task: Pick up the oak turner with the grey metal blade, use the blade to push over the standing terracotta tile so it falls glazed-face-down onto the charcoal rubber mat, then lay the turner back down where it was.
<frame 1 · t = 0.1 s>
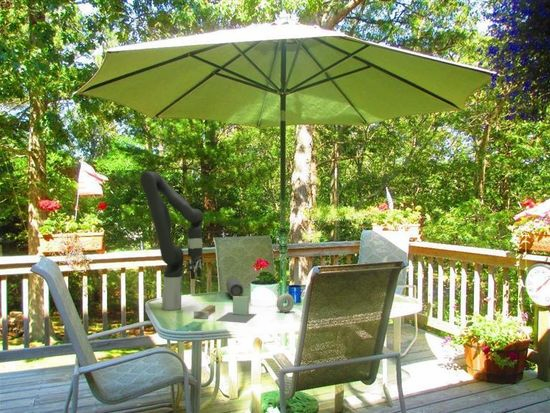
hand: (196, 277, 246), 17 cm above the table, tool pointing down, fingers open, 8 cm apart
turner: (207, 316, 234), on the table
mat: (236, 318, 229), on the table
donut: (285, 313, 243), on the table
bluetooth speaker: (234, 296, 285), on the table
tile: (240, 314, 235), point 1 cm above the table, touching mat
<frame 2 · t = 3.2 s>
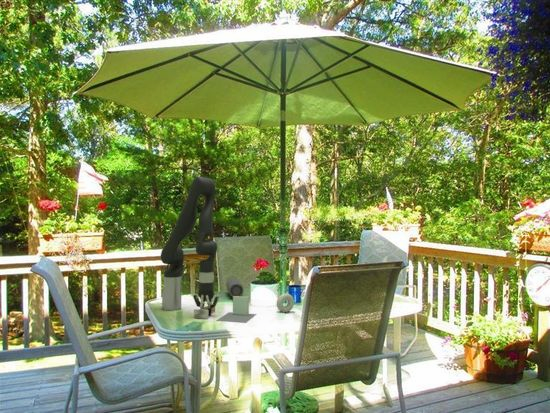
hand: (206, 315, 233), 1 cm above the table, tool pointing down, fingers closed on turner, 2 cm apart
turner: (207, 315, 234), on the table, touching gripper
everything else where it was.
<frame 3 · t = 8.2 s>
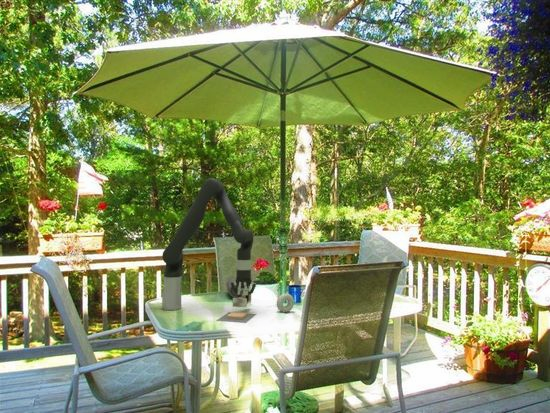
hand: (243, 301, 239), 6 cm above the table, tool pointing down, fingers closed on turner, 3 cm apart
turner: (244, 303, 241), point 5 cm above the table, touching gripper
tile: (240, 313, 234), point 1 cm above the table, tilted 90°, touching mat
everything else where it was.
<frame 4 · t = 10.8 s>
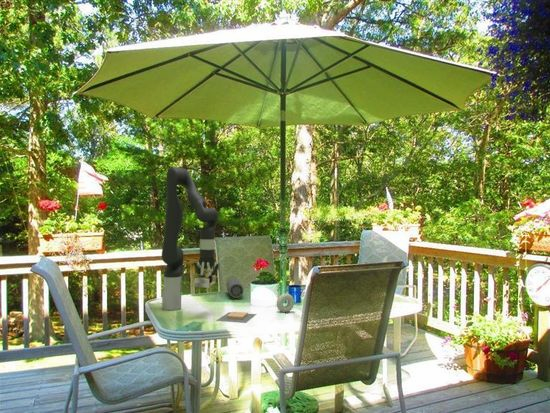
hand: (206, 282, 233), 17 cm above the table, tool pointing down, fingers closed on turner, 3 cm apart
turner: (207, 284, 234), point 16 cm above the table, touching gripper
everything else where it was.
when the fingers open (2 cm above the table, at t = 12.9 s): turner stays where it is, on the table.
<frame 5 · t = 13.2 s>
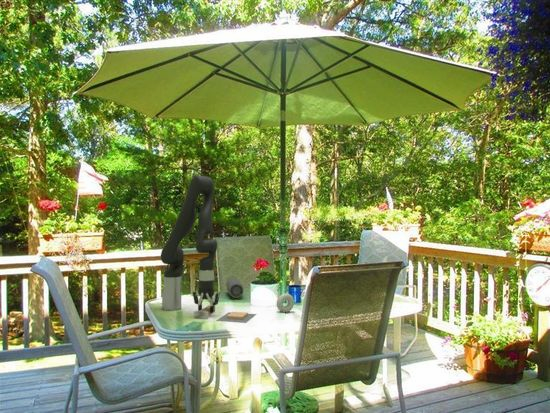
hand: (206, 312, 233), 2 cm above the table, tool pointing down, fingers open, 5 cm apart
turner: (207, 316, 234), on the table
everything else where it was.
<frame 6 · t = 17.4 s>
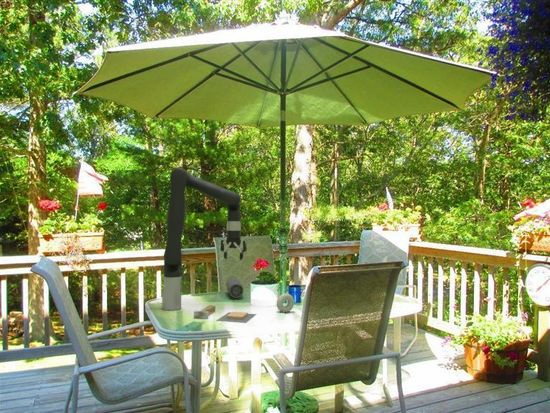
hand: (233, 259, 254), 26 cm above the table, tool pointing down, fingers open, 8 cm apart
nothing on the table moved.
at the end: tile tilted 90°; tile inside the target area (4.6 cm from its centre), point 1.4 cm above the table; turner inside the target area (0.0 cm from its centre), on the table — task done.
